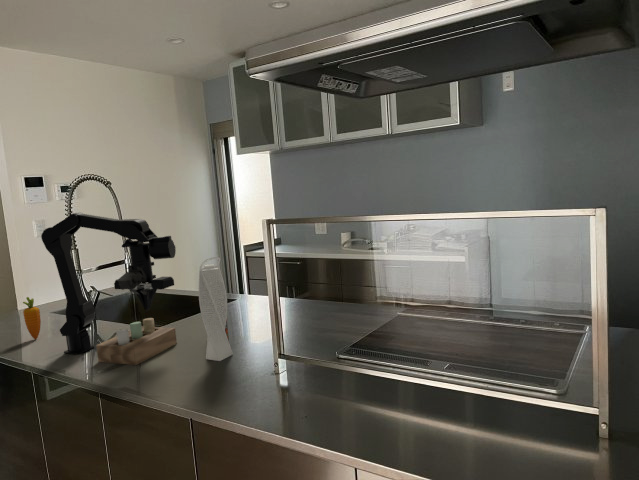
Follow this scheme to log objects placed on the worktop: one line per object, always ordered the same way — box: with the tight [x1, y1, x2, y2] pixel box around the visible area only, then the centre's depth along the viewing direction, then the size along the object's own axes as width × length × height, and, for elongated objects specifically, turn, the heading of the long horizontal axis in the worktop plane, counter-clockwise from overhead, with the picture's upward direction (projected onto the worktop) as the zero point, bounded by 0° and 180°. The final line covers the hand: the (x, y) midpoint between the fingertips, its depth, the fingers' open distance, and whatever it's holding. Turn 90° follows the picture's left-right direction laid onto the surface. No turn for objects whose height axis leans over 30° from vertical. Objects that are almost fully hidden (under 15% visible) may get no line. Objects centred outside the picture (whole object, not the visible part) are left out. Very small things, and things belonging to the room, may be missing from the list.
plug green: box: [129, 321, 143, 339], centre depth 151 cm, size 3×3×6 cm
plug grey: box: [116, 328, 130, 345], centre depth 146 cm, size 3×3×6 cm
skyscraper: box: [198, 256, 234, 362], centre depth 141 cm, size 8×8×28 cm
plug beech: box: [142, 317, 156, 333], centre depth 157 cm, size 3×3×6 cm
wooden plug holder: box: [95, 326, 178, 366], centre depth 152 cm, size 14×18×5 cm
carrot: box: [22, 296, 42, 340], centre depth 175 cm, size 5×5×15 cm
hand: (147, 310), depth 156 cm, fingers closed
